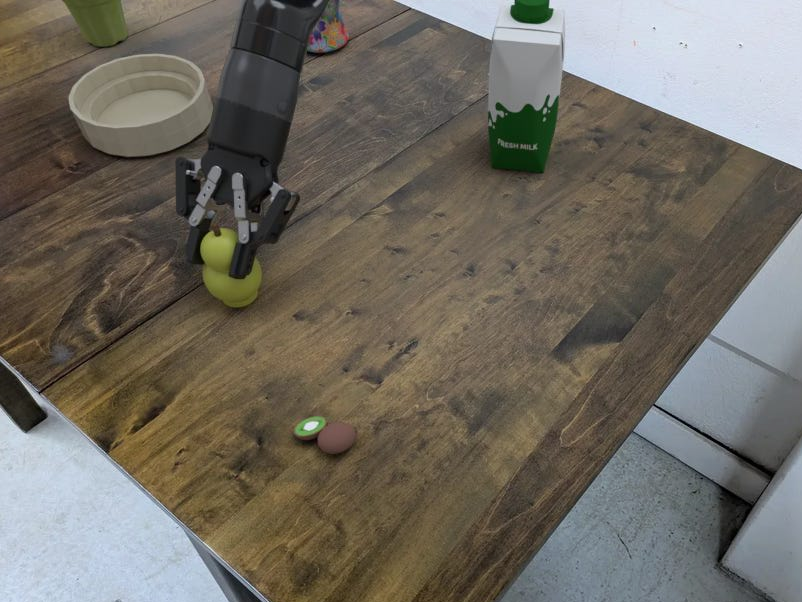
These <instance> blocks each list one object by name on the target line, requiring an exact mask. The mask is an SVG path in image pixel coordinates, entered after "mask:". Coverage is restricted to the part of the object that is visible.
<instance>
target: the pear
mask: <svg viewBox="0 0 802 602" xmlns="http://www.w3.org/2000/svg"><path fill="white" fill-rule="evenodd" d="M236 242H240V241H239V238H238V231H235V230H233V229H230V228H226V227H220V226H219V223H218V222H214V223H212V225H211V230H210V232H209V233H207V234H206V236H205V237H204V238H203V240H202V242H201V247H200V251H201V256H202V259H203V260H204V262H205V263H204V264H203V265H202V280H203V283H204V286H205V288H206V289H207V290H208V292H209V293H210V294H211V295H212V296H214V297H215V298H216V299H218V300H220V301H222V303H223V304H224V305H226V306H227V307H231V308H243V307H246V306H248V305H250V304H252V303H253V302H254V301H255V300H256V299H257V296H258V294H259V289H260V286H261V283H262V280H263V272H262V266H261V264H260V262H259V261H258V259H257V257H255V260H254V264H253V268H252V271H251V273H250V274H249V275H247V276H246V278H245V279H234V278H231V277H229V275H228V274H229V269H230V265H231V261H232V257H233V253H234V249H235V244H236Z"/></svg>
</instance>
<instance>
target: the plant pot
mask: <svg viewBox="0 0 802 602" xmlns="http://www.w3.org/2000/svg"><path fill="white" fill-rule="evenodd" d="M61 1H62V2H63V4H64V5H65V7H66V8H67V10H68V11H69V13H70V14H71V17H72V18H73V19H74V21H75V23H76V24H77V26H78V29H80V31H81V33H82V35H83V37H84V38H85V40H86V41H87V43H89V44H91V45H93V46H94V47H111V46H115V45H117V43H118V42H124V41H125V40H126V39H127V38H128V37H129V36H128V35H129V31H128V27H127V22H126V19H125V14H124V10H123V5H122V0H61Z"/></svg>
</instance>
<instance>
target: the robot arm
mask: <svg viewBox="0 0 802 602" xmlns="http://www.w3.org/2000/svg"><path fill="white" fill-rule="evenodd" d="M328 2H329V0H241V2H240V5H239V9H238V13H237V16H236V20H235V25H234V29H233V34H232V38H231V42H230V46H229V50H228V55H227V57H226V59H225V61H224V65H223V67H222V70H221V73H220V75H219V81H218V85H217V90H216V94H215V98H214V103H213V111H212V115H211V120H210V123H209V124H208V129H207V132H206V141H207V144H208V145H207V149H206V151H205V152H204V154H203V155H202V156H201V158H188V157H184V156H178V157H177V158H176V160H175V212H176V214H177V215H178V216H180V217H183V218H184V219H185V220H187V222H188V223H189V225H190V228H189V233H188V237H187V241H186V245H185V250H184V251H185V256H186V262H187V263H189V264H192V265H198V266H204V263H205V262H204V260H203V259H202V256H201V251H200V247H201V242H202V240H203V238H204V237H205V236H206V234H207V233H209V232H210V231H211V230H210V229H212V227H211V225H212V223H216V221H217V219H218V217H219V216H220V214H221V213H223V212H224V211H225V210H226V209H227V207H228V205H229V206H230V207H232V208H233V209H234V218H235V220H236V221H237V233H238V238H239V241H240V242H236V244H235V249H234V253H233V257H232V261H231V265H230V269H229V274H228V275H229V277H231V278H234V279H245V278H246V276H247V275H249V274H250V273H251V271H252V268H253V264H254V260H255V258H256V255H257V251H258V248H259V247H260V246H263V245H276V244H277V243H278V241H279V240H280V238H281V237H282V234H283V233H284V230H285V229H286V227H287V225H288V223H289V221H290V220H291V218H292V216H293V214H294V213H295V210H296V209H297V207H298V205H299V203H300V201H301V196H300V194H299V193H298V192H297V191H293V190H289V189H287V187H285V186H284V185H282V184H280V183H279V182H280V179H279V175H278V171H279V170H278V169H279V166H280V165H281V164H282V162H283V159H284V156H285V152H286V148H287V143H288V139H289V135H290V131H291V128H292V123H293V119H294V116H295V112H296V107H297V103H298V99H299V93H300V83H301V81H300V78H301V77H302V73H303V68H304V64H305V61H306V57H307V52H308V51H307V49H308V45H309V40H310V35H311V33H312V31H313V29H314V27H315V26H316V24H317V22H318V21H319V19H320V17H321V16H322V14H323V12H324V10H325V8H326V6H327V4H328ZM301 79H302V78H301ZM202 179H204V181H205V183H204V184H203V186H202V181H201V180H202ZM201 186H202V187H201ZM270 195H271V197H270V198H269V202H270V206H269V208H268V209H267V211H266V213H265V205H264V204H265V203H264V202H265V200H266V199H267V198H268V197H269V196H270Z"/></svg>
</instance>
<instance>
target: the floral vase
mask: <svg viewBox="0 0 802 602" xmlns="http://www.w3.org/2000/svg"><path fill="white" fill-rule="evenodd" d="M349 39H350V33H349V30H348V29H347V27H346V25H345V23H344V21H343V18H342V14H341V8H340V0H329V2H328V4H327V6H326V8H325V10H324V12H323V14H322V16H321V17H320V19H319V21H318V22H317V24H316V26H315V27H314V29H313V31H312V33H311V35H310V40H309V45H308V49H307V52H310V53H316V54H317V53H318V54H319V53H329V52H333V51H337V50H338V49H339V50H340V48H342V47H344V46H345V45H346V44H347V42H348V41H349Z"/></svg>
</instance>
